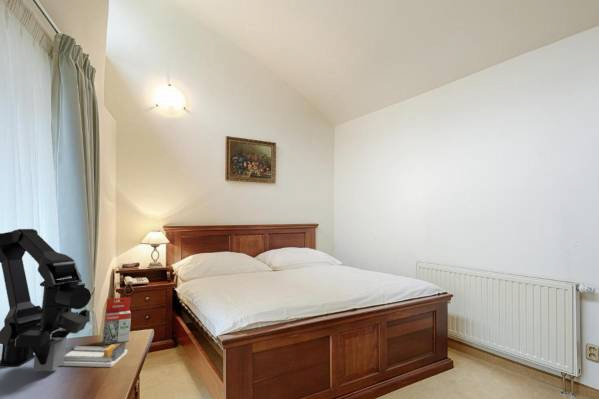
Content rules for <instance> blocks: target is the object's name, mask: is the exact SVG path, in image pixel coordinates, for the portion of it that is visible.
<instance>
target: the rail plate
mask: <svg viewBox="0 0 599 399" xmlns="http://www.w3.org/2000/svg"><path fill="white" fill-rule="evenodd" d="M108 347H109V346H89V345H88V346H87V345H85V346H83V345H81V346H80V345H76V346H74V347H73V348H74V349H72V350H71V351H69V352H67V353H66V354H64V363H63V364H61V365H60V366H59V367H61V366H62V367H63V366H64V367H94V368H95V367H98V368H112V367H113V366H114V365H116V363H118V362H119V361H120V360H121V359H122V358H123V357H125V355H126V354H128V349H127V348H126V341H125V342H120V344H118V345H117V346H115V349H113V350H112V355H111V356H110V357H104V350H105V349H106V348H108Z"/></svg>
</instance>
